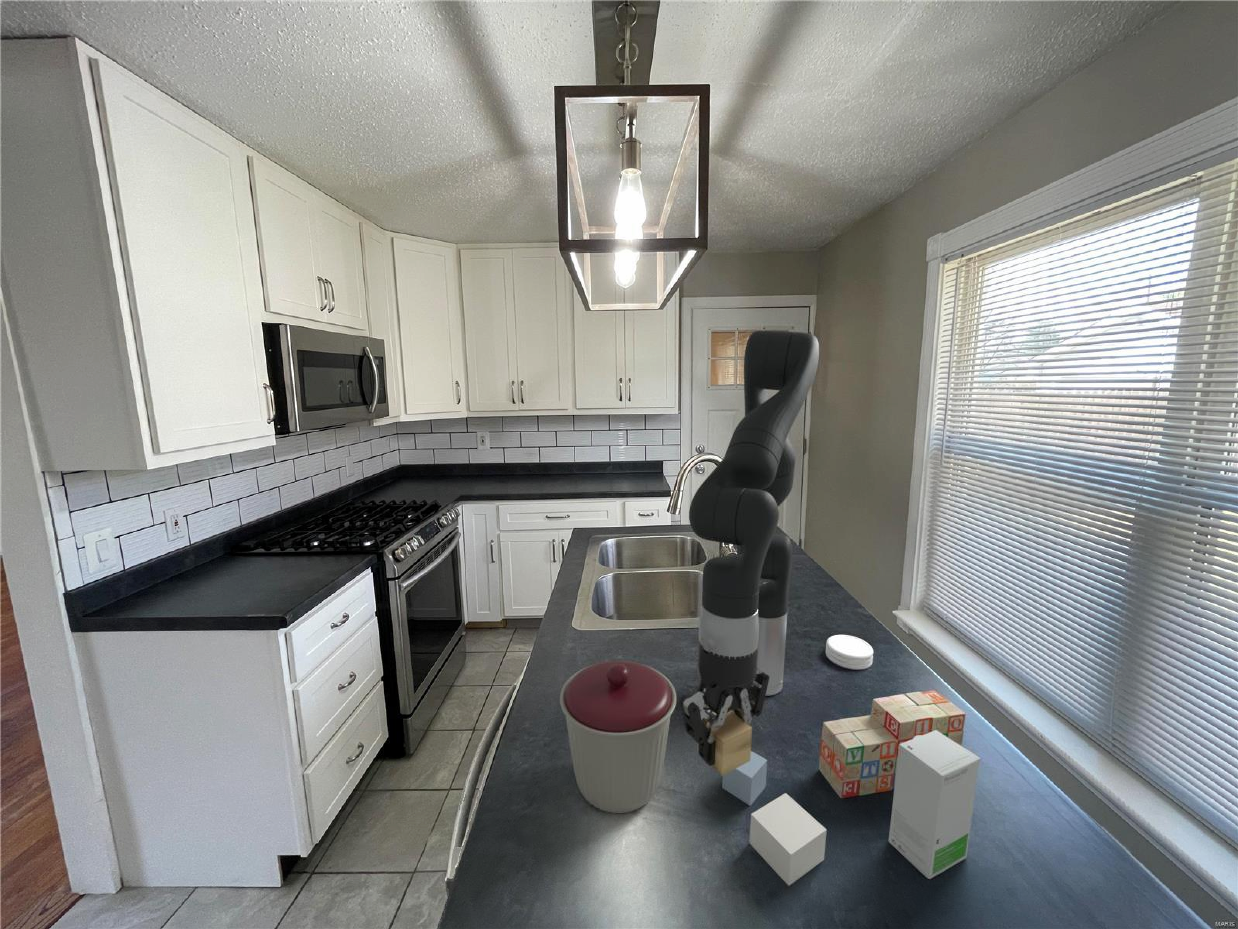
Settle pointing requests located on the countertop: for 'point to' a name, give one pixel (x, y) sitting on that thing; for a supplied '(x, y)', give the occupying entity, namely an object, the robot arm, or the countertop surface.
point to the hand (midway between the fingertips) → (723, 752)
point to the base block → (787, 838)
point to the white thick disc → (849, 652)
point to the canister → (618, 732)
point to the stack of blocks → (882, 740)
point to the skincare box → (933, 802)
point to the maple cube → (732, 744)
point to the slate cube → (747, 779)
